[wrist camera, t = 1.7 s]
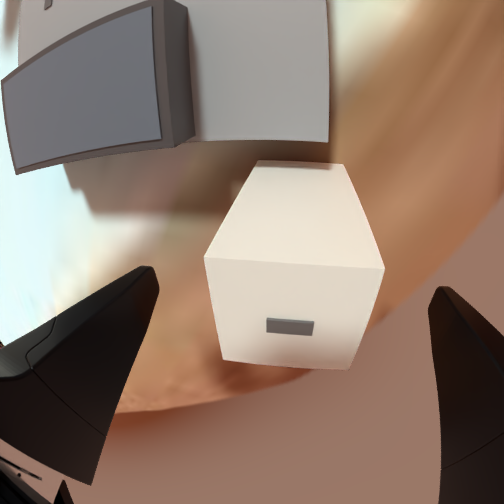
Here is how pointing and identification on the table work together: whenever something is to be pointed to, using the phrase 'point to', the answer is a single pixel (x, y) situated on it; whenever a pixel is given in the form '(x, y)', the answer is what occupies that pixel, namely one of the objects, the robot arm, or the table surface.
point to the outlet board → (227, 61)
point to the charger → (294, 268)
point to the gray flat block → (103, 89)
